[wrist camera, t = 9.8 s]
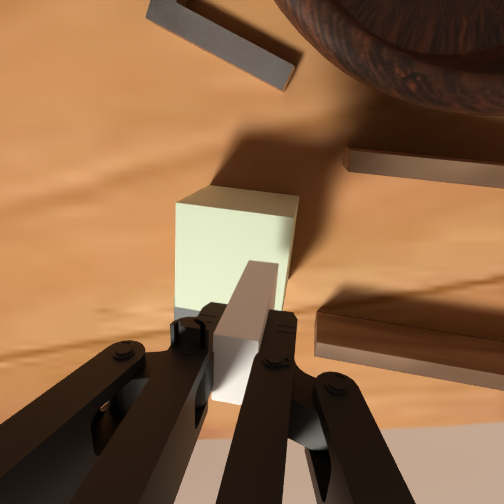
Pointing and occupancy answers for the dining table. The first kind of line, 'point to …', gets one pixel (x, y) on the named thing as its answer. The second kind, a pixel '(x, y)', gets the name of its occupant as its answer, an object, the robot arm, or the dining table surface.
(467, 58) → the wooden bowl
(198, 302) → the sage block
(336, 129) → the dining table surface
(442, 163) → the walnut cubby
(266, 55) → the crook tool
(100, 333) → the dining table surface
